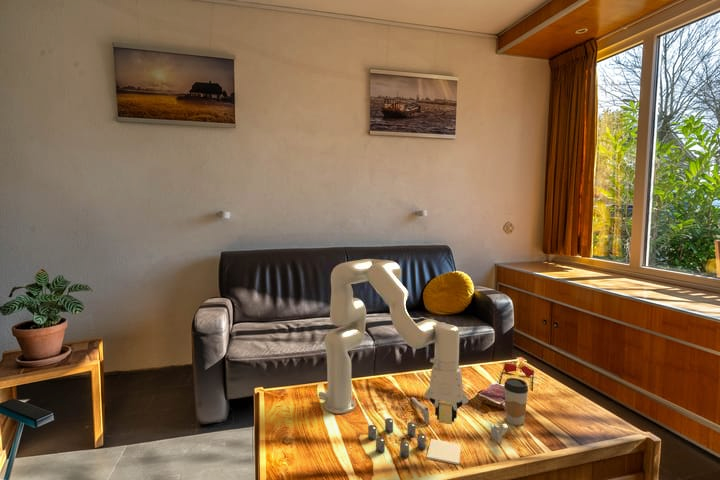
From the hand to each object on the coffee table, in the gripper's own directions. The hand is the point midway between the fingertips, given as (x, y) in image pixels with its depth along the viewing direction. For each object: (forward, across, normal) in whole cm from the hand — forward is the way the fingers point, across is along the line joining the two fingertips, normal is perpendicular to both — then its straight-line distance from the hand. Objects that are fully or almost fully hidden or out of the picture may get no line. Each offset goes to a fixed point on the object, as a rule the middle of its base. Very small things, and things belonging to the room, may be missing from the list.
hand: (445, 418), depth 127 cm
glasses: (+12, +26, +64) cm, 70 cm away
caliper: (+12, -12, +23) cm, 29 cm away
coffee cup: (+12, +23, +27) cm, 37 cm away
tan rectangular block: (+1, 0, 0) cm, 1 cm away
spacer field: (+11, -16, 0) cm, 20 cm away
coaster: (+12, 0, 0) cm, 12 cm away
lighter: (+12, +17, +11) cm, 23 cm away
